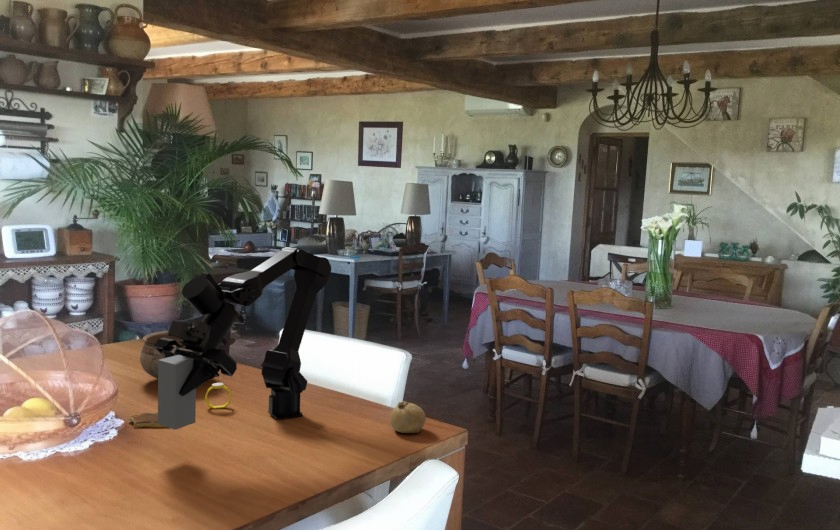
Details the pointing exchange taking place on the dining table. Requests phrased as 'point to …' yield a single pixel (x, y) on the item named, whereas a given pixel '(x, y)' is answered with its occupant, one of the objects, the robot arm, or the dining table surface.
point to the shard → (145, 420)
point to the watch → (216, 386)
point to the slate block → (175, 392)
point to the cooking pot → (153, 352)
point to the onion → (407, 418)
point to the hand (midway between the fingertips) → (171, 392)
